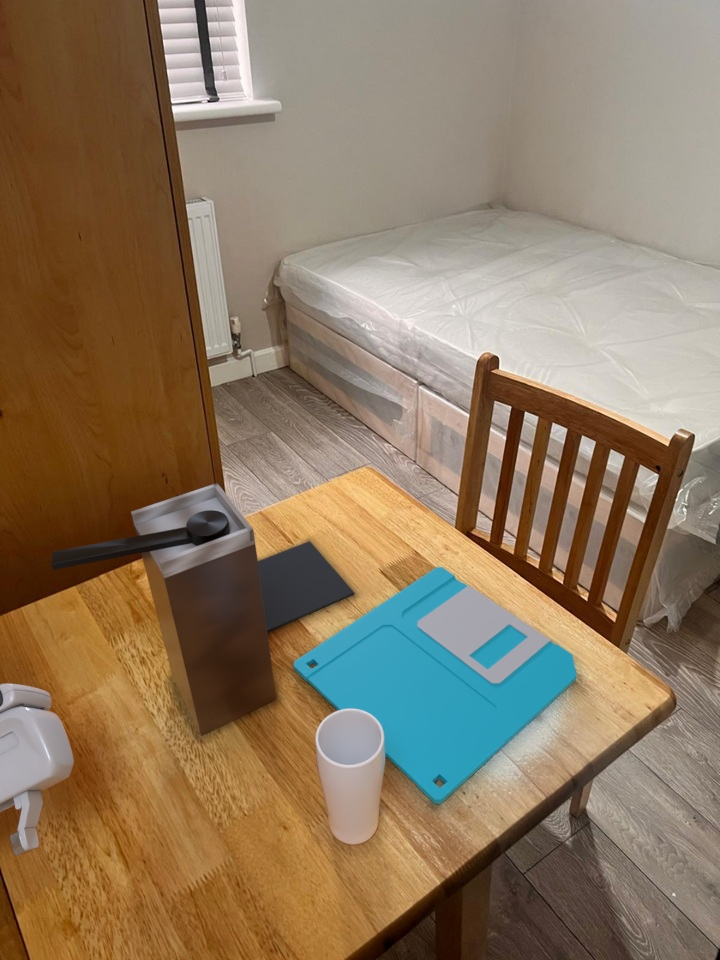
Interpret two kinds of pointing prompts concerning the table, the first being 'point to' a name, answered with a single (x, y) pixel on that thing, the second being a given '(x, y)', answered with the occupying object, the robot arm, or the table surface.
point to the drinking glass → (351, 772)
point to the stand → (210, 610)
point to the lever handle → (148, 541)
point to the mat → (298, 585)
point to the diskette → (440, 677)
